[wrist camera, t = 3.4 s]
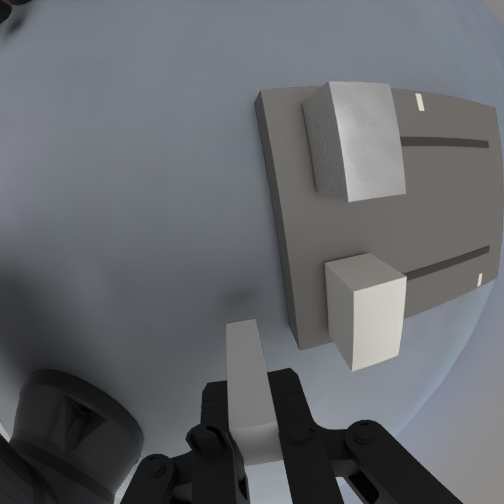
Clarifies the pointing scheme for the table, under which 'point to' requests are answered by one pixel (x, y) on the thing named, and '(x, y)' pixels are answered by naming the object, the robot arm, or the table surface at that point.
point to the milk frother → (7, 8)
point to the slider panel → (388, 205)
